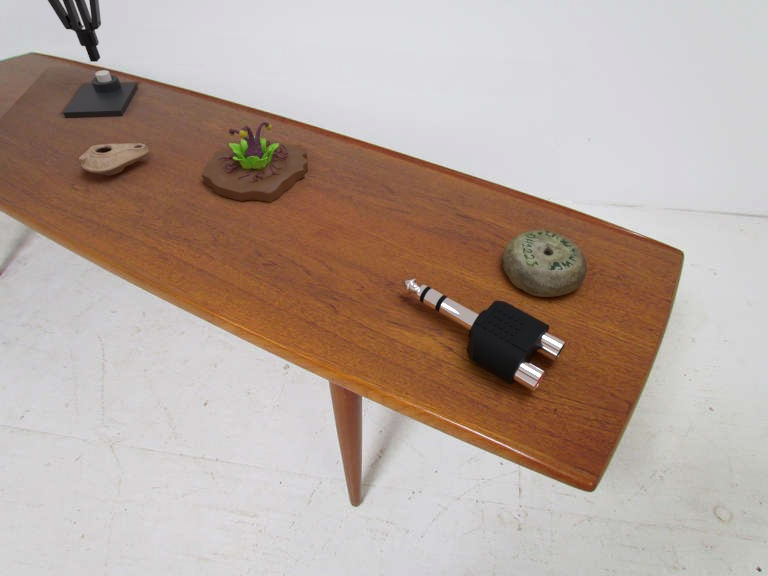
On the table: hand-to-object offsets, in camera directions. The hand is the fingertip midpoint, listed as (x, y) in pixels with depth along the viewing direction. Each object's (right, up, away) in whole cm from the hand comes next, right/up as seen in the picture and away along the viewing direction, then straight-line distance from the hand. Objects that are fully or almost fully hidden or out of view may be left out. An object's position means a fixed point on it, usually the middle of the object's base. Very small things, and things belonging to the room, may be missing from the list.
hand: (95, 59), depth 122 cm
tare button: (0, -4, +4) cm, 5 cm away
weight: (+97, -53, -39) cm, 117 cm away
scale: (+1, -10, +2) cm, 10 cm away
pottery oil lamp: (+16, -32, -19) cm, 40 cm away
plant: (+44, -33, -19) cm, 58 cm away
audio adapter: (+83, -63, -48) cm, 115 cm away
